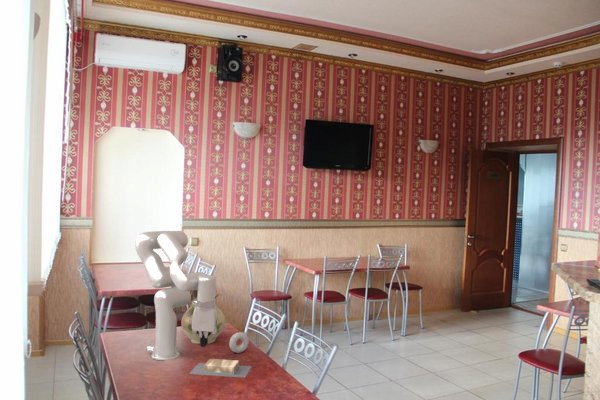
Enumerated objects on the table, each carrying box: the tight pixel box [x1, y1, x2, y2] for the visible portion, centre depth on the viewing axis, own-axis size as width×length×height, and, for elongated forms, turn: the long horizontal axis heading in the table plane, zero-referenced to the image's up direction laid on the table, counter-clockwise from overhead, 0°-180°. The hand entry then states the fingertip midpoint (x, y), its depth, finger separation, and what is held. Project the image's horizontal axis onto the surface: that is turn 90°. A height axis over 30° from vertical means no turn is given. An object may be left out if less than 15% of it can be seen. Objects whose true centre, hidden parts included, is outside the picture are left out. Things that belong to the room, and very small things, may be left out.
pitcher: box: [180, 290, 226, 345], centre depth 266 cm, size 22×24×25 cm
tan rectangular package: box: [204, 358, 240, 375], centre depth 222 cm, size 3×9×13 cm
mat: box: [189, 362, 253, 379], centre depth 222 cm, size 24×14×1 cm, turn 84°
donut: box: [228, 331, 250, 354], centre depth 248 cm, size 10×4×10 cm, turn 121°
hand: (203, 345), depth 223 cm, fingers closed
